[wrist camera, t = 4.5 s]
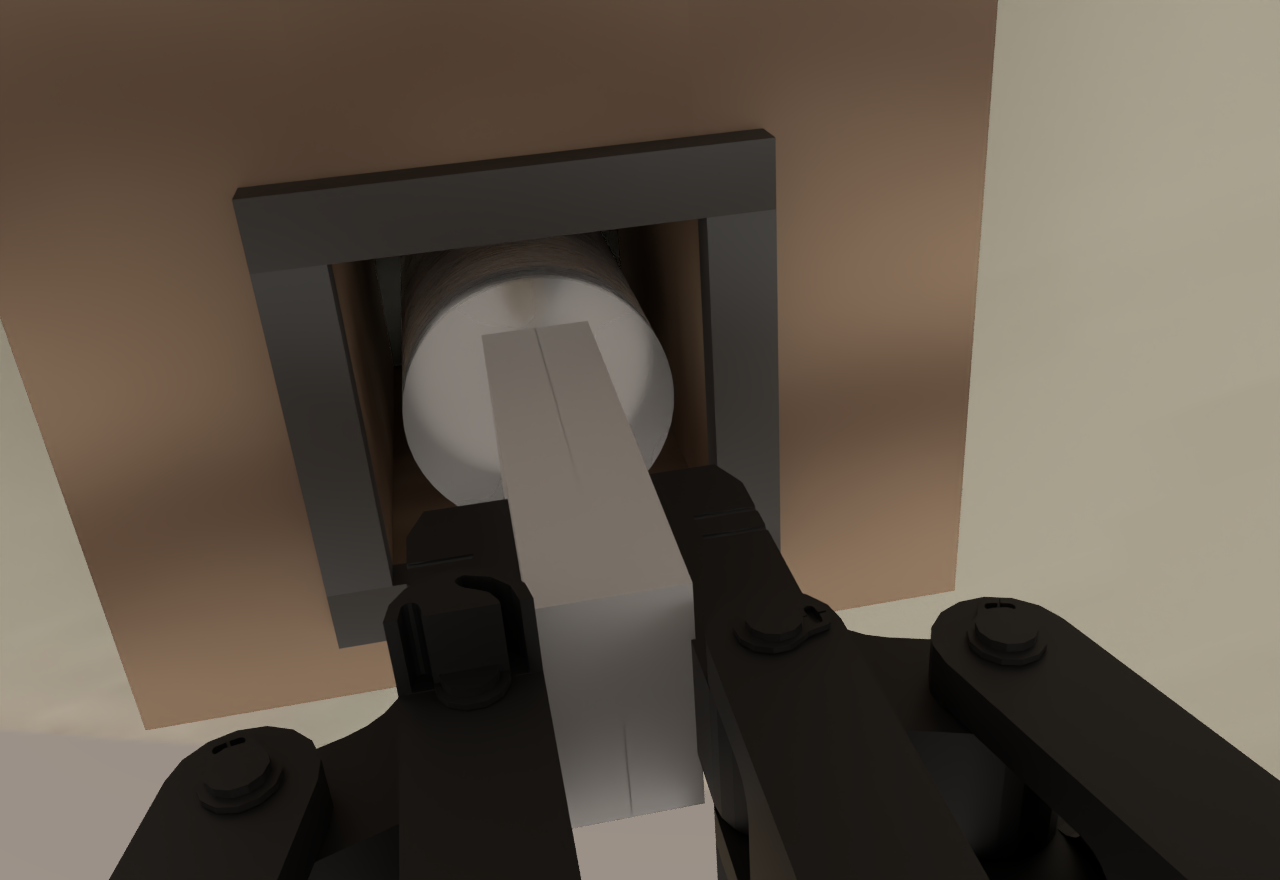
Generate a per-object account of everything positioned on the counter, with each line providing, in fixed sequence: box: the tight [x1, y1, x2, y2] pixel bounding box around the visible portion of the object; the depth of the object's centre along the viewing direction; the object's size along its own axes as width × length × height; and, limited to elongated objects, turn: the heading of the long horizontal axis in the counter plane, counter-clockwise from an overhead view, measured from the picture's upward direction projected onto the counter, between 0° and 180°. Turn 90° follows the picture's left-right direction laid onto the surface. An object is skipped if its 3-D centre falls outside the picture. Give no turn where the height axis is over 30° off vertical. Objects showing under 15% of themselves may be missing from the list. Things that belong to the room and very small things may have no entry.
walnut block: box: [0, 0, 998, 730], centre depth 18 cm, size 20×14×9 cm
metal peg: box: [401, 231, 674, 506], centre depth 20 cm, size 4×4×8 cm
